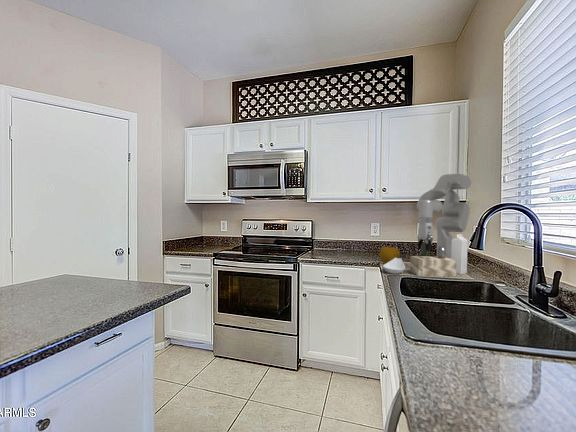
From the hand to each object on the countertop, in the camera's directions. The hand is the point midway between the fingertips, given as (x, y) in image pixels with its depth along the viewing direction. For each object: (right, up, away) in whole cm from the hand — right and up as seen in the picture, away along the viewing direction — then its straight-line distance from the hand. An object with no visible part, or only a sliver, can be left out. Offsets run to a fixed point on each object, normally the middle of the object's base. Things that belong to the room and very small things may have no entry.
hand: (424, 249), depth 178 cm
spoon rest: (-19, -12, -5) cm, 23 cm away
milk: (+17, -13, -6) cm, 22 cm away
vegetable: (0, -12, 0) cm, 12 cm away
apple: (-14, -12, +19) cm, 27 cm away
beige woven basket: (-1, -12, -12) cm, 17 cm away
